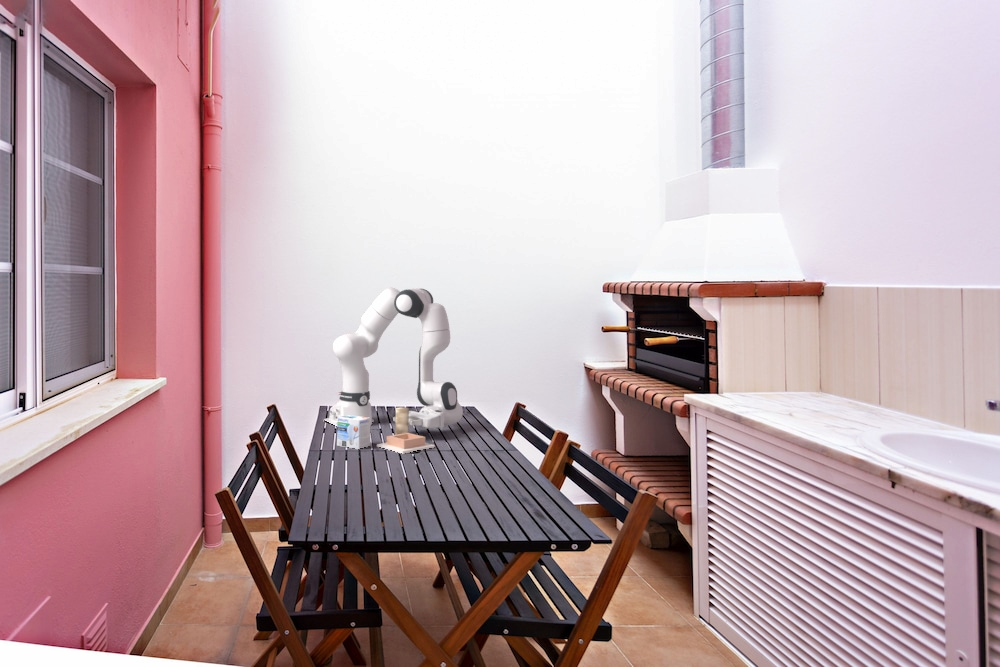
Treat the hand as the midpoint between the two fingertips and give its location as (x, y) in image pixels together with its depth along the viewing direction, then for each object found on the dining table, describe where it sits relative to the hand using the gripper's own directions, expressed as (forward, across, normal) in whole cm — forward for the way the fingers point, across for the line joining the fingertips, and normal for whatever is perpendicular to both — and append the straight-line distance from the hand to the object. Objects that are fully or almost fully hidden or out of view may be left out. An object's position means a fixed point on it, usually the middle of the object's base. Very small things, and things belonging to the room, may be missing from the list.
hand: (402, 421), depth 275 cm
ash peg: (0, 0, +7) cm, 7 cm away
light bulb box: (+21, -2, +7) cm, 22 cm away
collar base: (+8, +12, +7) cm, 16 cm away
